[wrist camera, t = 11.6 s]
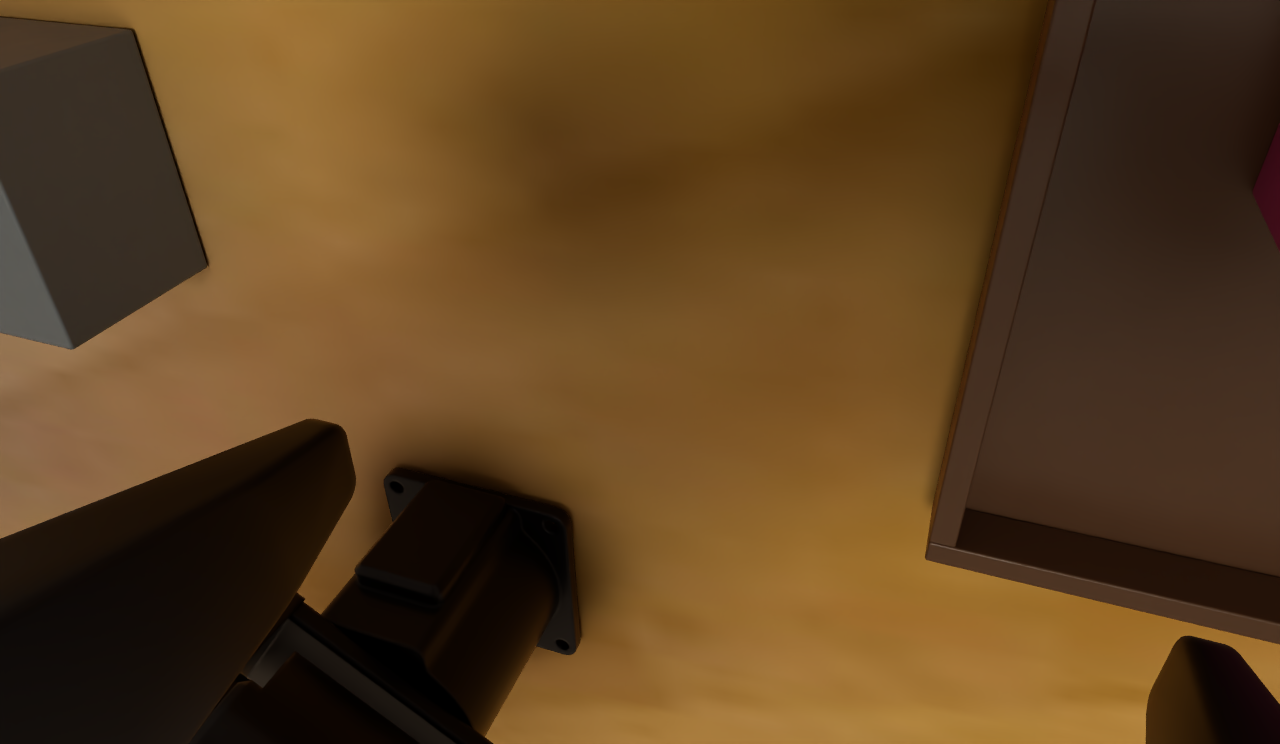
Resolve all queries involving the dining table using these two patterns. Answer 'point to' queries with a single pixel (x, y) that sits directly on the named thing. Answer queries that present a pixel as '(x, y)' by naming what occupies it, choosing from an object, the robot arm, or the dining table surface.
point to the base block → (83, 185)
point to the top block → (1270, 189)
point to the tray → (1131, 325)
